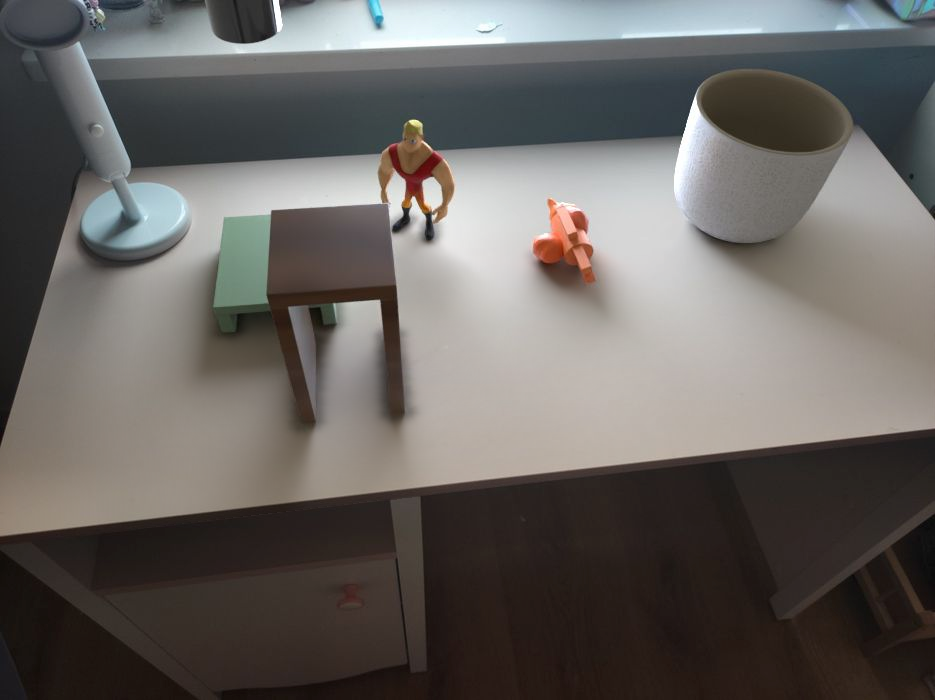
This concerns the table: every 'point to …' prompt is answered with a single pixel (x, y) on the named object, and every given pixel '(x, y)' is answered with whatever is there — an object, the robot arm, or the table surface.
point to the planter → (757, 153)
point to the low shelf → (247, 271)
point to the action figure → (416, 174)
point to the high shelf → (331, 286)
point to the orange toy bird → (566, 239)
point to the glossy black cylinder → (244, 20)
